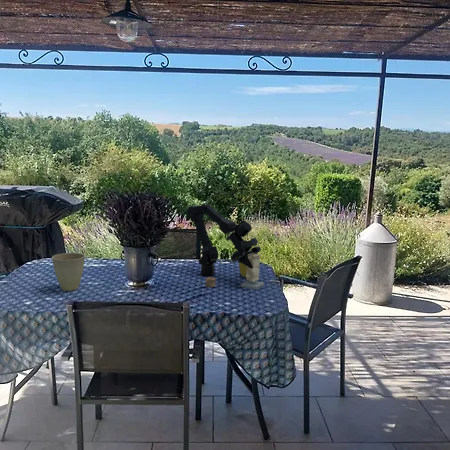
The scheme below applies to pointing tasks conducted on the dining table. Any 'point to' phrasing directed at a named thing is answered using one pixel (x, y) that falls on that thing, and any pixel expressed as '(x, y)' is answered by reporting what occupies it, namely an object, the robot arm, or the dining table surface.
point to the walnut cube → (210, 282)
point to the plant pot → (69, 269)
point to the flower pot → (243, 269)
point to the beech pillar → (254, 272)
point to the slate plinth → (252, 284)
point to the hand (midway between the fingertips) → (255, 267)
